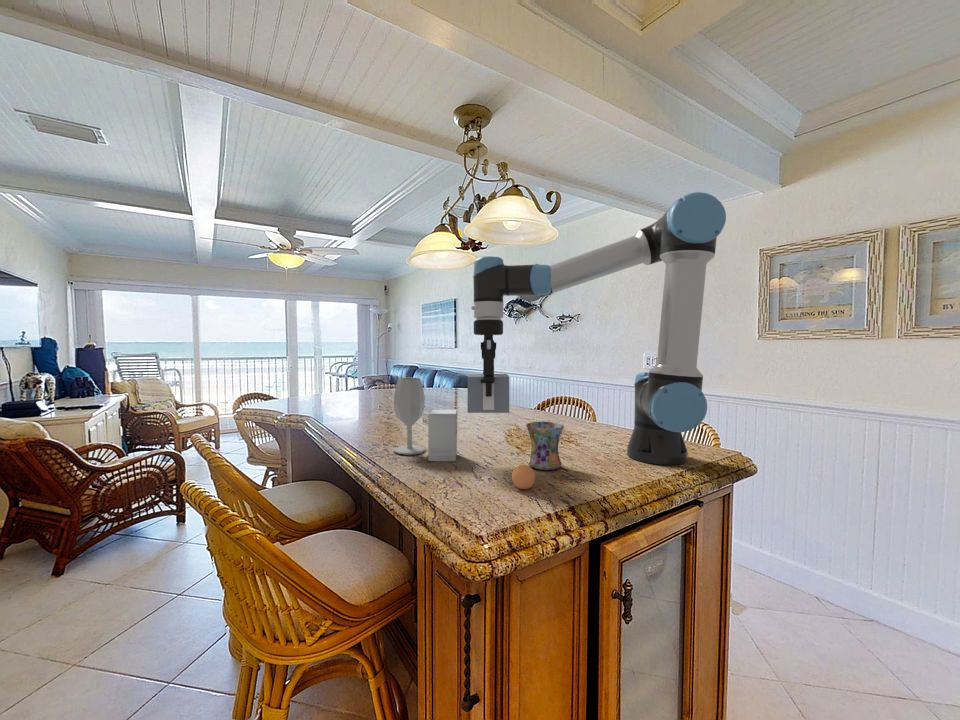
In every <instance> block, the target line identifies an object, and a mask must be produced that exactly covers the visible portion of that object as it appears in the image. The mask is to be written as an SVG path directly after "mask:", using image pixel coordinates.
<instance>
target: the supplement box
mask: <svg viewBox="0 0 960 720" xmlns="http://www.w3.org/2000/svg"><path fill="white" fill-rule="evenodd" d="M427 419H428V421H427V422H428V425H427V427H428V429H427V430H428V433H427V434H428V435H427V439H428V441H427V443H428V444H427V445H428V447H427V448H428V451H427V453H428V459H427V461H429V462H456V458H457V455H458V409H432V410H430V412H429V413H428V418H427Z"/></svg>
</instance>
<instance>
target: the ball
mask: <svg viewBox="0 0 960 720" xmlns="http://www.w3.org/2000/svg"><path fill="white" fill-rule="evenodd" d="M511 480H512V483H513V484H514V486H515V487H516V488H518V489H521V490H527V489H530V488H532V487H533V485H534V484H535V481H536V473H535V471H534V469H533V467H531V466H529V465H526V464H520V465H517V466H516V467H515V468H514V469H513V470H512V473H511Z"/></svg>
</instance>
